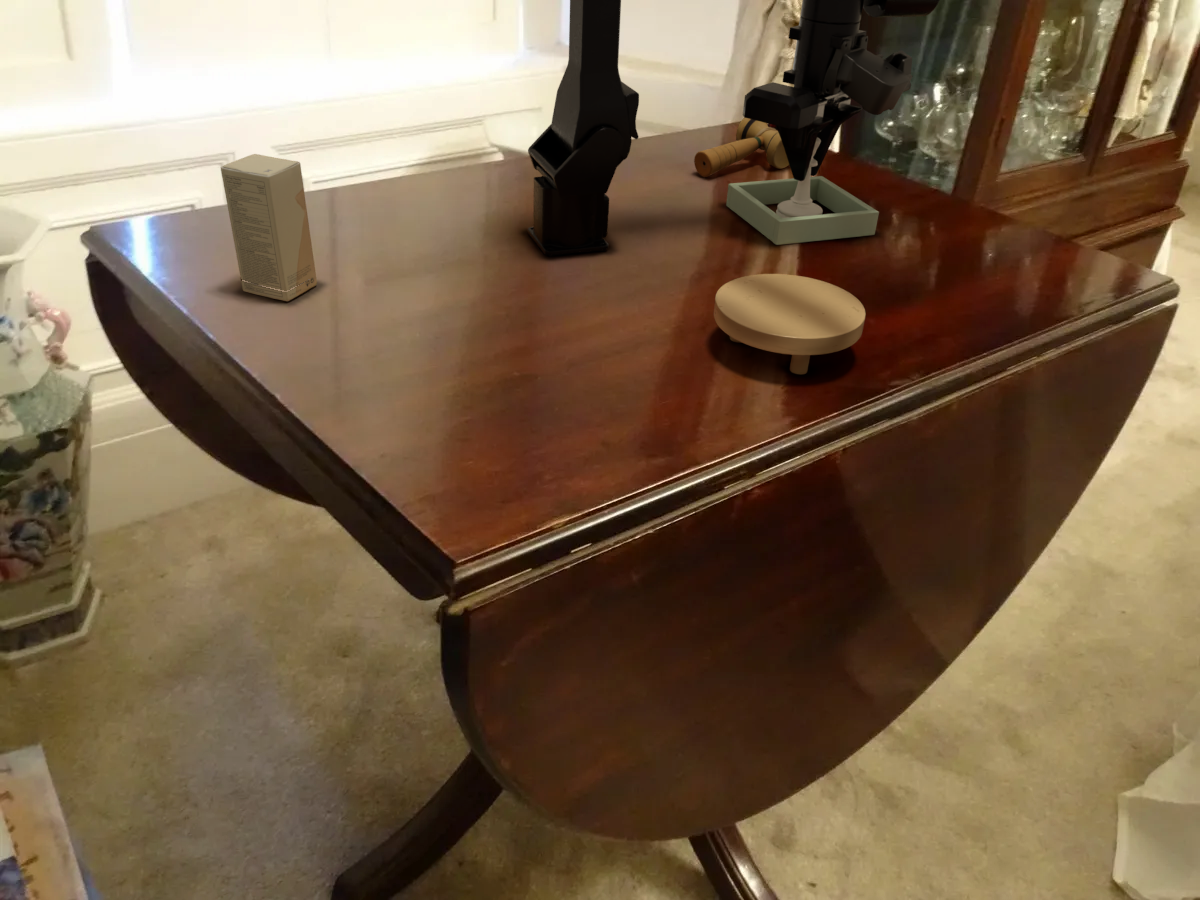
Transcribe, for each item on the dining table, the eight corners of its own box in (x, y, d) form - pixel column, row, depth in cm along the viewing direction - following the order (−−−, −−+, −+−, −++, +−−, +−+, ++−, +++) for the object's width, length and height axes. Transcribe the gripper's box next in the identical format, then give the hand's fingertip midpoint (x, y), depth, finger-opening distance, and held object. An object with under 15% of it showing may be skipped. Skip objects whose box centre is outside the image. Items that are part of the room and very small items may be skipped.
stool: (789, 399, 78) (797, 352, 76) (680, 340, 86) (684, 295, 84) (886, 356, 85) (896, 312, 83) (777, 304, 92) (783, 262, 90)
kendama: (730, 198, 119) (834, 151, 127) (724, 143, 116) (830, 99, 124) (684, 190, 125) (786, 146, 133) (677, 138, 121) (782, 96, 130)
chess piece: (821, 225, 108) (838, 128, 102) (774, 219, 108) (788, 123, 103) (822, 209, 112) (839, 115, 106) (777, 204, 113) (790, 110, 107)
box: (319, 285, 91) (304, 161, 85) (287, 303, 88) (270, 176, 82) (271, 273, 93) (254, 151, 87) (238, 290, 90) (218, 164, 84)
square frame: (776, 245, 104) (779, 221, 103) (725, 205, 113) (728, 183, 112) (874, 235, 108) (879, 211, 106) (818, 197, 117) (821, 175, 115)
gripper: (859, 46, 89) (828, 220, 98) (949, 20, 101) (915, 176, 110) (750, 24, 95) (730, 190, 103) (848, 2, 107) (823, 152, 116)
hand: (804, 177), depth 108 cm, fingers closed on chess piece, 2 cm apart
